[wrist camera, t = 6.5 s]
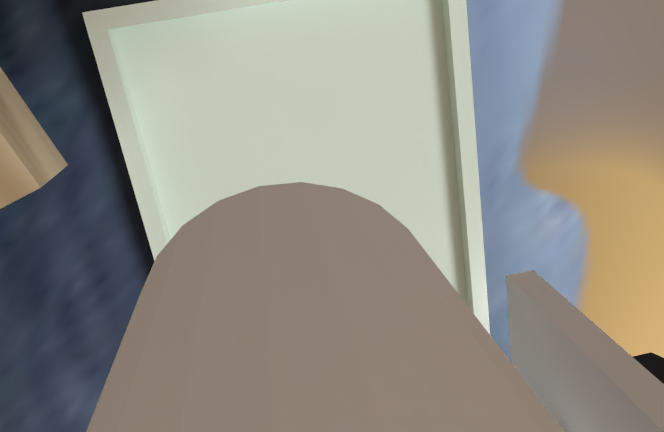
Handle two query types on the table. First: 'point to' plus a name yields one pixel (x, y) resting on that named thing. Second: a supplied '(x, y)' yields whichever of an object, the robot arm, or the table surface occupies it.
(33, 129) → the maple block
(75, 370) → the table surface
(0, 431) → the table surface
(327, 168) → the tray
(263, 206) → the mug
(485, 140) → the table surface
